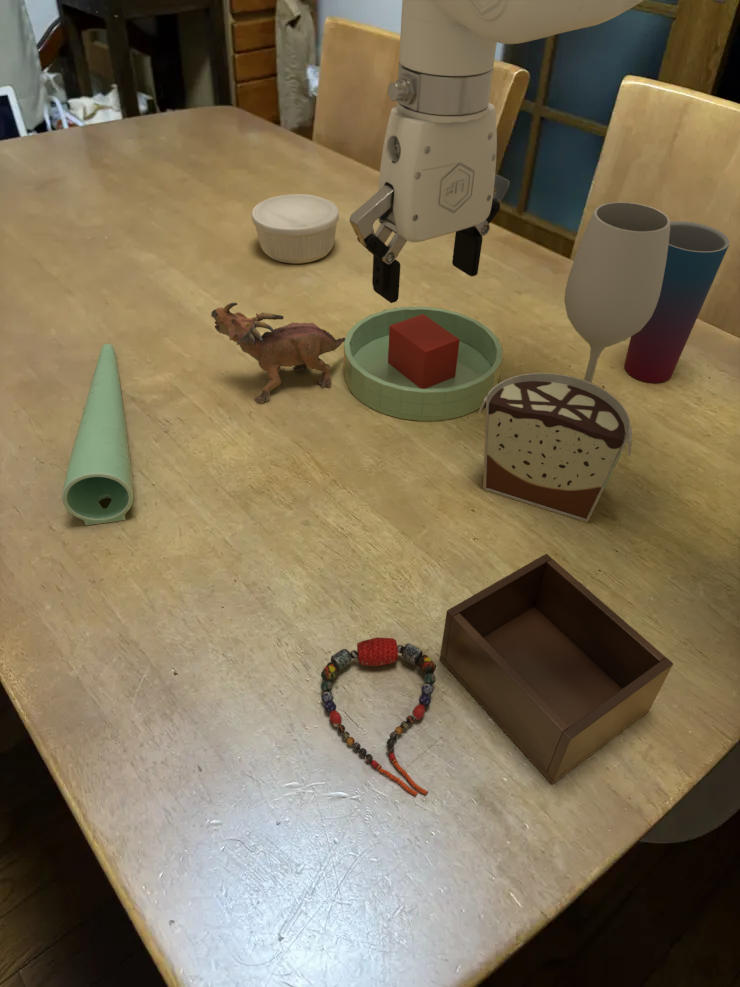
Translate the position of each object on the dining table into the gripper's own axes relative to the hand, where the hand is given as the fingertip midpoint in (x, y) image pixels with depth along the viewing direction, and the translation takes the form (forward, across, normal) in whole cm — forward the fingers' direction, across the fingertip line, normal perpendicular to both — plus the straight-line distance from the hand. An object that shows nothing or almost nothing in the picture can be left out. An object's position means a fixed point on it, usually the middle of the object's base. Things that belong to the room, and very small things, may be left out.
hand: (426, 283), depth 73 cm
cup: (+10, +21, -13) cm, 27 cm away
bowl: (+10, 0, 0) cm, 10 cm away
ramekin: (+11, +4, +32) cm, 34 cm away
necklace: (+10, -27, -31) cm, 42 cm away
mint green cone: (+11, -30, +9) cm, 34 cm away
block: (+10, 0, 0) cm, 10 cm away
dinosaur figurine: (+11, -12, +6) cm, 17 cm away
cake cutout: (+10, -1, -20) cm, 23 cm away
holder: (+10, -16, -35) cm, 40 cm away
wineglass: (+10, +7, -16) cm, 20 cm away
